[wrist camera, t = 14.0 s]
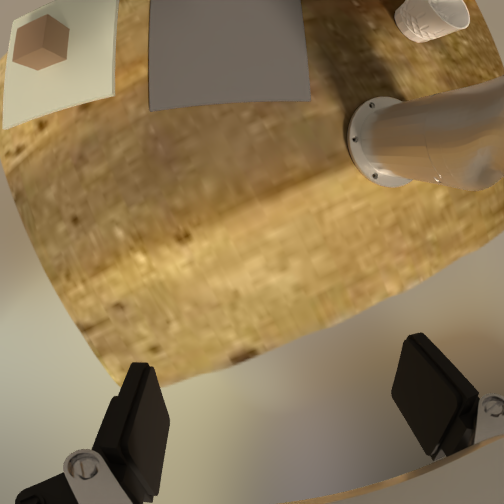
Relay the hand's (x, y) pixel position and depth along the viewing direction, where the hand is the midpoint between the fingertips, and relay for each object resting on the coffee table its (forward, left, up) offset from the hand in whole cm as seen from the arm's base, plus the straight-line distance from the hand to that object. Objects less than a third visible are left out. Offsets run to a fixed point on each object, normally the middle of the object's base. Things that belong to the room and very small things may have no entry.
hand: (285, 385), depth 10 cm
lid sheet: (+20, -23, -21) cm, 37 cm away
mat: (+1, -25, -30) cm, 39 cm away
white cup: (-27, -30, -31) cm, 51 cm away
